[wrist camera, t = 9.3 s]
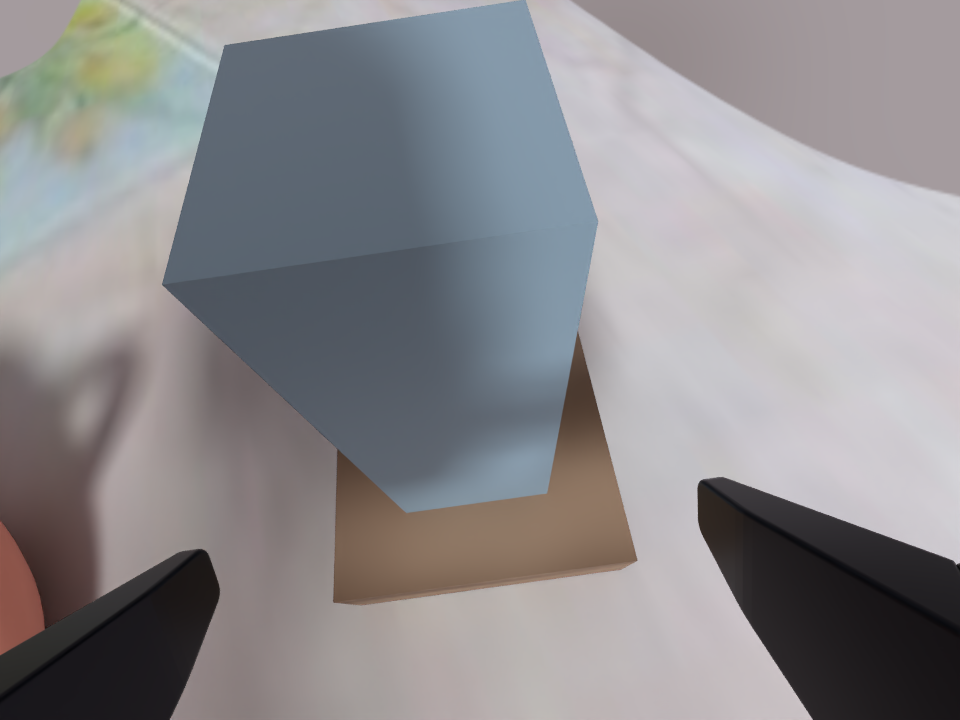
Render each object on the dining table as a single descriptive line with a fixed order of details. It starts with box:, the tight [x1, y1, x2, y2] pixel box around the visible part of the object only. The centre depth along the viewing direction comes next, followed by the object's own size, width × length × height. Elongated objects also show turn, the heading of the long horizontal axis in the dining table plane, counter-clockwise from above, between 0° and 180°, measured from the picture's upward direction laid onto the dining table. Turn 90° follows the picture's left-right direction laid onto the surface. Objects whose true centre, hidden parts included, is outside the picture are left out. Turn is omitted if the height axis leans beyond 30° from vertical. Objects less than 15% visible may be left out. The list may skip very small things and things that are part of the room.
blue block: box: [162, 0, 598, 513], centre depth 12 cm, size 5×5×13 cm
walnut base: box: [333, 331, 637, 605], centre depth 19 cm, size 10×10×3 cm
